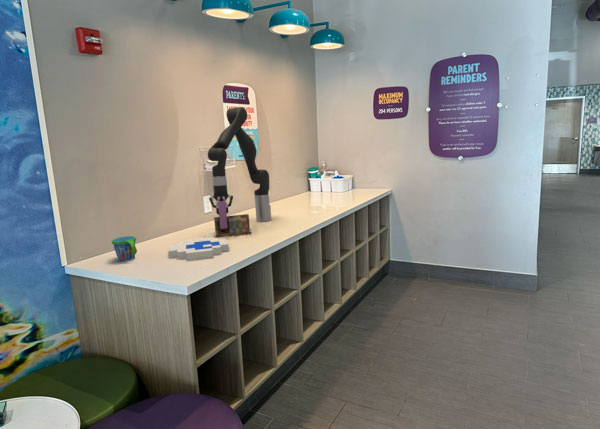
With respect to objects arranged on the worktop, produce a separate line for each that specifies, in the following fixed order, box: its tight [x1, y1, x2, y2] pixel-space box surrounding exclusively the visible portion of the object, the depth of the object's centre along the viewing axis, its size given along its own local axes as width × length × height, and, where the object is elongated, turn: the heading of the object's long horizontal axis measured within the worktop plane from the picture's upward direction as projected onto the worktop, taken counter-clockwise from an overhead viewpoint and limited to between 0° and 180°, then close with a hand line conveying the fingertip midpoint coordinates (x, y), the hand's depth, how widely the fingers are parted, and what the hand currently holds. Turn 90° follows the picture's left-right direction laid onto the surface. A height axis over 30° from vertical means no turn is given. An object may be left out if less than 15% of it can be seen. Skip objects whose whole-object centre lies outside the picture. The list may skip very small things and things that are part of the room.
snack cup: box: [111, 235, 138, 262], centre depth 199 cm, size 16×10×10 cm
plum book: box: [218, 201, 228, 229], centre depth 238 cm, size 4×10×15 cm, turn 12°
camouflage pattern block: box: [213, 213, 252, 239], centre depth 241 cm, size 20×12×10 cm, turn 102°
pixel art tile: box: [168, 236, 230, 262], centre depth 207 cm, size 28×4×28 cm
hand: (222, 214), depth 238 cm, fingers closed on plum book, 4 cm apart
